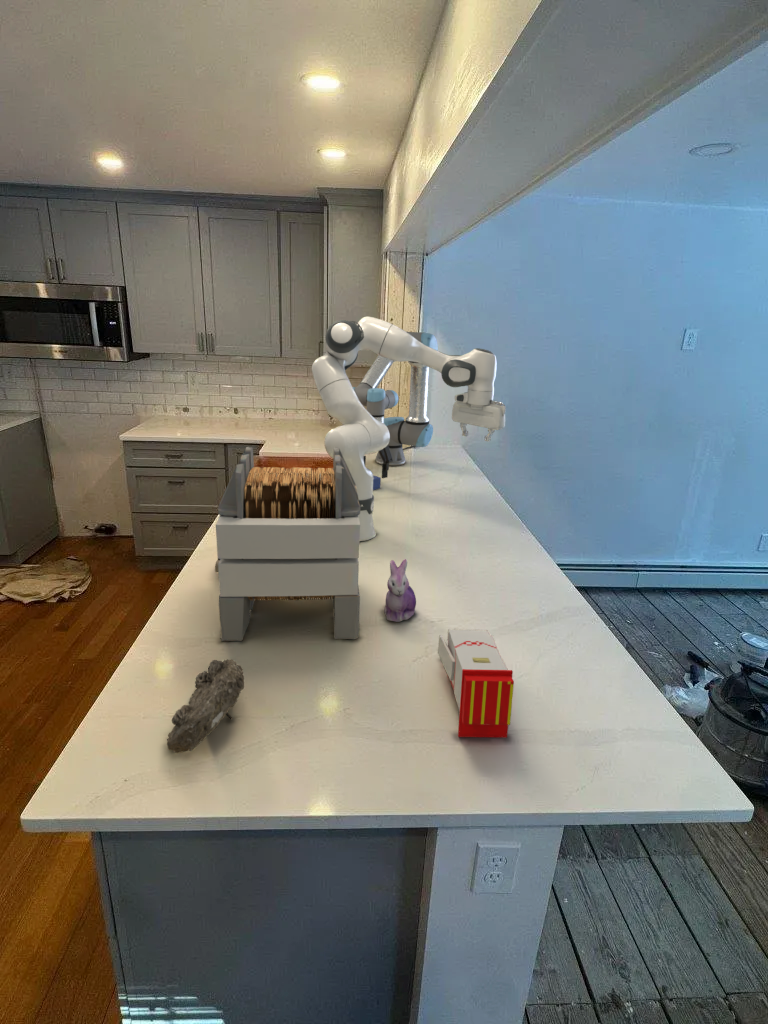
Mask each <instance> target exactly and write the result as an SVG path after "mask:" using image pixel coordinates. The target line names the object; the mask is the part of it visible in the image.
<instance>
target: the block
mask: <svg viewBox="0 0 768 1024" xmlns="http://www.w3.org/2000/svg"><path fill="white" fill-rule="evenodd" d="M381 481H382V476H381V477H380V476H377V475H374V474H373V491H375V490H379V489H381V483H382V482H381Z"/></svg>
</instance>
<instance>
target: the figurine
mask: <svg viewBox="0 0 768 1024" xmlns="http://www.w3.org/2000/svg"><path fill="white" fill-rule="evenodd" d="M407 567H408V559H406V558H404V559H403V560H402V561H401V563H400V565H399V566H398V565H397V563H396V562H395V561H394V560H393V559H391V560H390V561H389V570H390V576H389V578H388V579H387V589H388V591H387V592H386V594H385V595H386V596H385V607H384V615H385V616H386V620H387V621H391V622H395V623H400V622H402V621H406V620H409V619H410V618H411V617H413V616H414V615H415V610H416V606H417V597H416V593H415V591H414V590H413V587H411V586H410V582H409V579H408V577H407V574H406V571H407Z"/></svg>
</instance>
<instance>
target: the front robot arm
mask: <svg viewBox="0 0 768 1024" xmlns="http://www.w3.org/2000/svg"><path fill="white" fill-rule="evenodd" d="M407 332H408V331H406V330H404V329H402V328H401V327H399V326H397V325H396V324H393V323H391V322H388V321H387V320H383V319H380V318H378V317H377V318H376V317H373V316H364V317H361V318H360V319H359V321H358V322H357V321H356V320H344V319H343V320H342V319H341V320H340V319H339V320H335V321H334V322H332V323H331V324H329V326H328V327H327V330H326V333H325V353H324V354H323V355H321V356H319V357H318V358H316V359H314V361H313V362H312V365H311V373H312V378H313V381H314V384H315V387H316V389H317V392H318V394H319V397H320V399H321V401H322V403H323V406H324V408H325V410H326V413H327V414H328V416H330V417H331V418H332V419H334V420H336V421H338V422H340V424H341V425H339V426H336V427H334V428H331V429H330V430H329V431H328V432H327V433H326V434H325V436H324V443H323V444H324V449H325V451H326V453H327V454H328V455H329V457H331V458H332V460H334V448H339V449H340V451H341V453H342V456H343V458H344V460H345V462H346V464H347V467H348V469H349V471H350V473H351V475H352V478H353V480H354V482H355V484H356V489H357V494H358V499H359V504H360V514H359V515H358V517H359V522H360V539H359V542H365V541H368V540H372V539H373V538H375V537H376V535H377V532H376V528H375V523H374V513H373V512H374V509H375V496H374V490H373V475H374V473H373V471H372V470H371V469H369V468H368V467H366V466H365V464H364V456H368V455H372V454H375V453H376V454H377V453H378V451H380V450H382V449H383V448H385V447H386V446H387V445H388V443H389V440H390V433H389V430H388V428H387V426H386V425H385V424H384V423H382V422H380V421H378V420H377V419H375V418H374V417H373V416H372V415H371V414H370V413H369V412H368V411H367V408H365V406H363V405H362V404H361V402H360V401H359V399H358V397H357V395H356V393H355V391H354V389H353V387H354V386H353V385H352V383H351V380H350V378H349V377H348V375H347V372H346V370H347V369H350V367H352V366H353V365H354V364H355V363H356V361H357V359H358V356H359V352H360V351H369V352H372V353H373V354H376V355H377V356H378V355H380V356H382V357H384V358H387V359H390V360H394V361H395V362H398V363H399V362H400V363H401V362H403V363H404V362H408V361H413V362H418V363H421V364H423V365H425V366H428V367H429V369H432V370H434V371H437V372H439V373H440V374H441V378H442V381H443V382H444V384H446V385H447V386H448V387H451V388H461V387H467V391H466V392H463V393H457V394H455V395H454V402H453V405H452V410H451V419H452V421H453V422H456V423H459V427H460V429H461V436H462V437H468V436H469V433H470V432H469V430H468V429H467V427H466V426H468V425H470V426H475V427H480V428H483V429H487V432H488V433H487V435H484V437H483V438H484V440H483V441H484V442H490V441H491V440H492V439H491V438H492V436H493V435H494V433H495V431H501V430H504V428H505V427H506V412H507V411H506V410H507V407H506V404H504V403H503V402H502V401H498V400H494V394H495V386H494V385H495V384H494V383H495V380H496V377H497V356H496V355H495V353H494V352H493V351H491V350H489V349H485V348H480V347H476V348H473V349H472V350H470V351H468V352H467V353H464V354H462V355H460V354H446V353H444V352H441V351H439V350H438V351H437V350H435V349H433V348H430V347H428V346H426V345H424V344H422V343H421V342H419V341H418V340H417V339H415V338H414V337H413V336H411V335H410V334H409V333H407Z"/></svg>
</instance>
